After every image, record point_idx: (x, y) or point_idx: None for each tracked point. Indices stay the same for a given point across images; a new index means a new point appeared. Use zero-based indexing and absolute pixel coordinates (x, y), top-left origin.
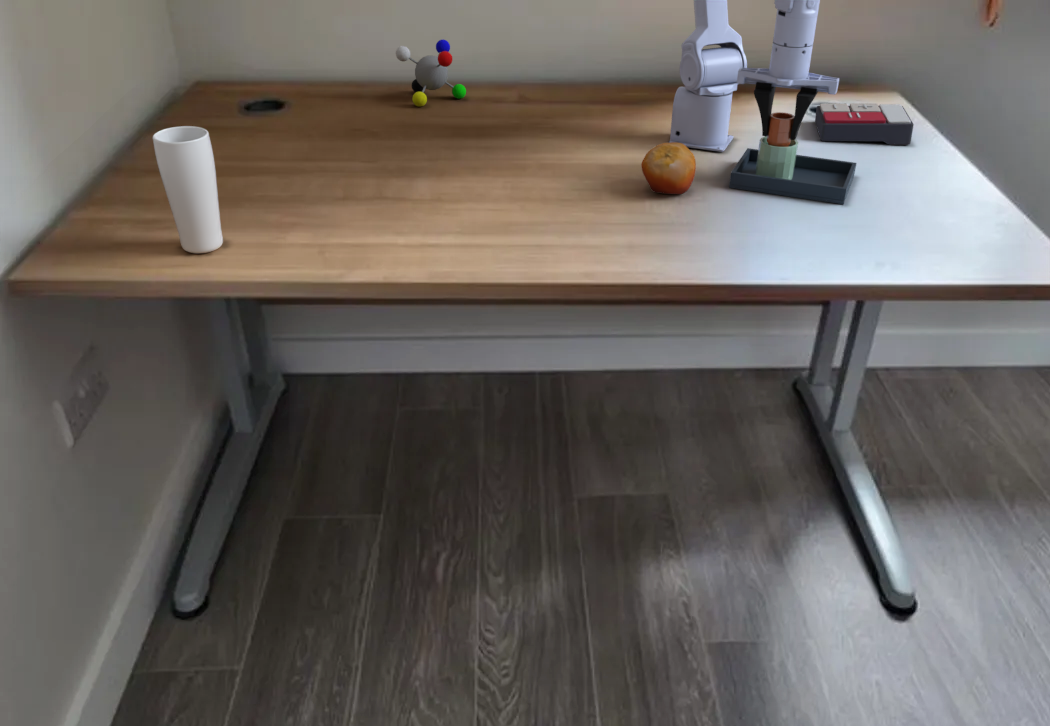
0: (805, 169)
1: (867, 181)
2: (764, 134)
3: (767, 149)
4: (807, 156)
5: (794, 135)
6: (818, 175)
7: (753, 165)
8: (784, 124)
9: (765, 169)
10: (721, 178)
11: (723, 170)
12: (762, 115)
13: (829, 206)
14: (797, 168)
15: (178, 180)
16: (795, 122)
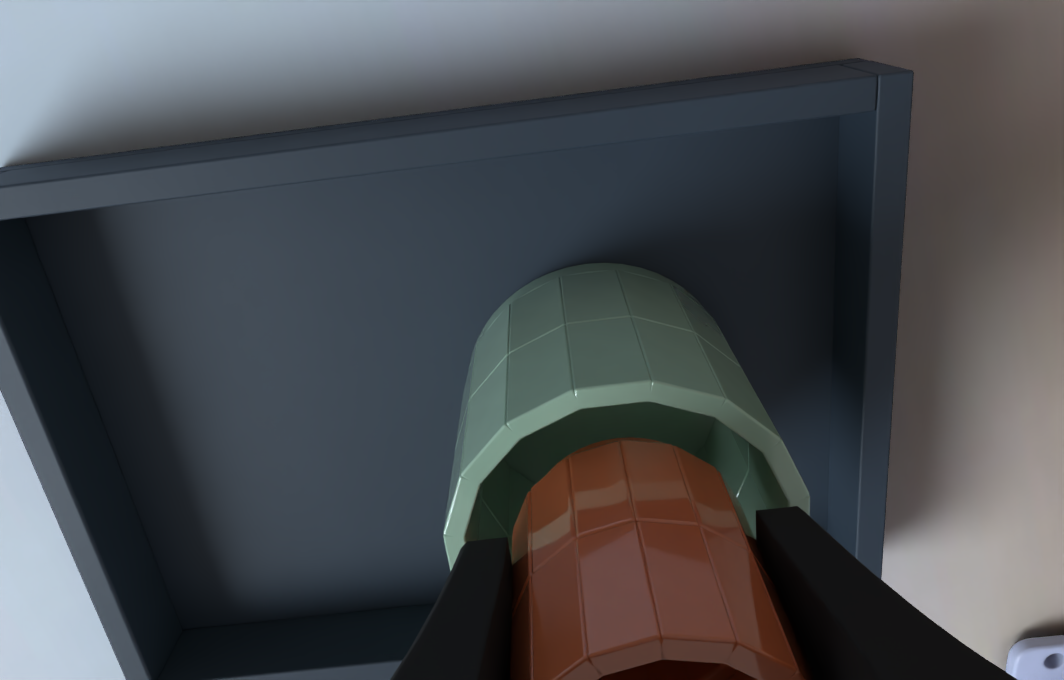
0: None
1: (85, 616)
2: (787, 514)
3: (687, 370)
4: None
5: (462, 562)
6: (340, 531)
7: None
8: (589, 604)
9: (650, 298)
10: (948, 224)
11: (958, 376)
12: (931, 638)
13: (60, 81)
14: None
15: None
16: (456, 662)
